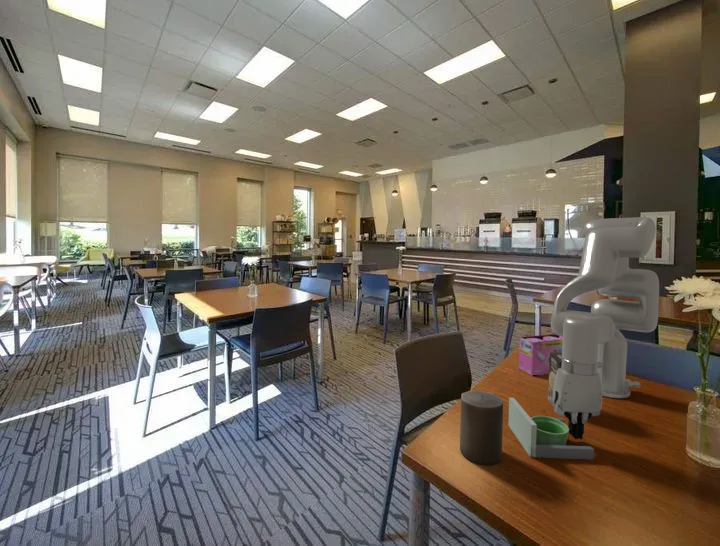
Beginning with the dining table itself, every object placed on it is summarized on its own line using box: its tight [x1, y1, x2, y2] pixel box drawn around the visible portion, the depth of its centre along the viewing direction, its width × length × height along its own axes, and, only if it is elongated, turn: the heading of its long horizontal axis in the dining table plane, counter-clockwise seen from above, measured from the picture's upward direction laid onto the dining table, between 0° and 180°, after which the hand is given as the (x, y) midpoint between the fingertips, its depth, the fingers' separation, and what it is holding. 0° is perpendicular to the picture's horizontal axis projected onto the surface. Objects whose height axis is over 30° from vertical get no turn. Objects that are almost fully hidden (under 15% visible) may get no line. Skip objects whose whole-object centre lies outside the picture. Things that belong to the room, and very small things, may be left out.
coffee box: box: [547, 352, 577, 413], centre depth 104 cm, size 9×6×16 cm
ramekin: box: [531, 415, 570, 446], centre depth 87 cm, size 9×9×4 cm
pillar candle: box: [459, 390, 504, 466], centre depth 82 cm, size 10×10×15 cm
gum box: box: [518, 333, 563, 377], centre depth 135 cm, size 24×8×14 cm, turn 103°
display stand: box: [508, 397, 595, 460], centre depth 87 cm, size 14×14×8 cm
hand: (575, 436), depth 87 cm, fingers closed
